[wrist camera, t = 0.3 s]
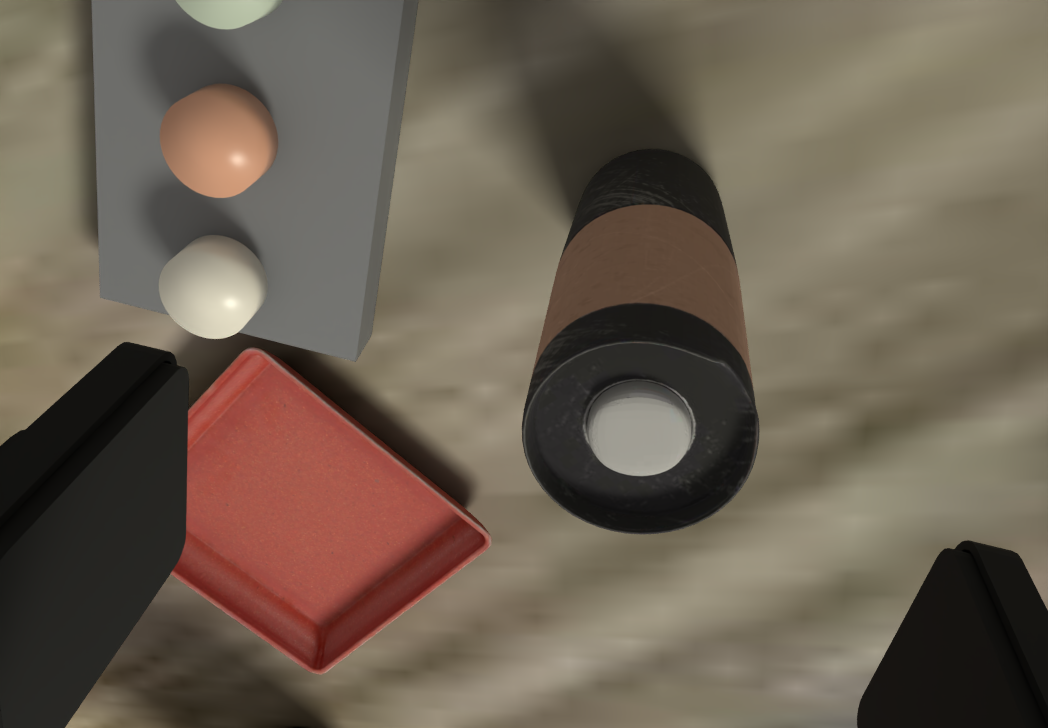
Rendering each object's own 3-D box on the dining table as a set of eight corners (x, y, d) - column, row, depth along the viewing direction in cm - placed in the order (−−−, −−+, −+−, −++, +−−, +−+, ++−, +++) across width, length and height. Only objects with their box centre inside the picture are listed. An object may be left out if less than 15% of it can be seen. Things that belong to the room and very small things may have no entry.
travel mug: (560, 270, 49) (499, 510, 32) (590, 127, 45) (540, 311, 28) (704, 302, 49) (723, 560, 31) (748, 160, 45) (796, 366, 28)
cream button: (179, 225, 46) (158, 241, 44) (270, 247, 46) (253, 265, 44) (178, 306, 48) (158, 326, 47) (264, 328, 48) (248, 348, 47)
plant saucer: (506, 509, 58) (497, 544, 55) (332, 644, 65) (317, 682, 63) (272, 314, 53) (249, 342, 50) (116, 485, 61) (89, 517, 58)
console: (123, -170, 41) (86, -170, 39) (431, -95, 41) (415, -90, 39) (128, 274, 53) (100, 297, 50) (371, 335, 52) (355, 361, 50)
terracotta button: (183, 72, 42) (159, 84, 40) (281, 97, 42) (263, 109, 40) (180, 169, 45) (159, 184, 43) (274, 192, 45) (257, 208, 43)
